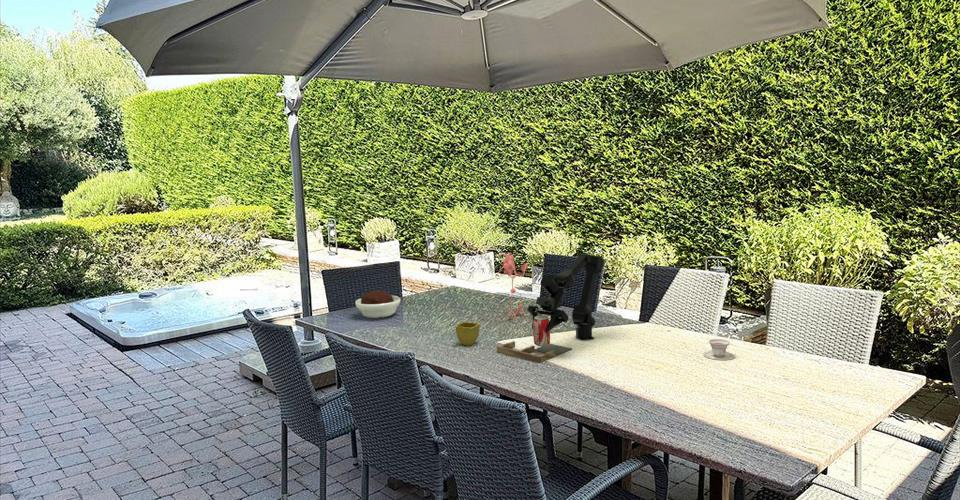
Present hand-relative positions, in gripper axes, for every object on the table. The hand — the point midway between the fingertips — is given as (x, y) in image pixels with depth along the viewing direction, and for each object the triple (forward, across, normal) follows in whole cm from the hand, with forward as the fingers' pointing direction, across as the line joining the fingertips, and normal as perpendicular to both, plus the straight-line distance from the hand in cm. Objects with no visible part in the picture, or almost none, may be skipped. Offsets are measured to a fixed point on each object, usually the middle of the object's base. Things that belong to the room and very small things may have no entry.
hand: (539, 330), depth 250 cm
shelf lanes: (+10, -6, +5) cm, 12 cm away
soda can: (+4, 0, +6) cm, 7 cm away
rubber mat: (+2, 0, +14) cm, 14 cm away
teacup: (-22, +58, +39) cm, 73 cm away
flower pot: (+13, -37, +3) cm, 39 cm away
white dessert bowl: (+8, -116, +8) cm, 117 cm away
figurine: (-21, -55, +38) cm, 70 cm away
